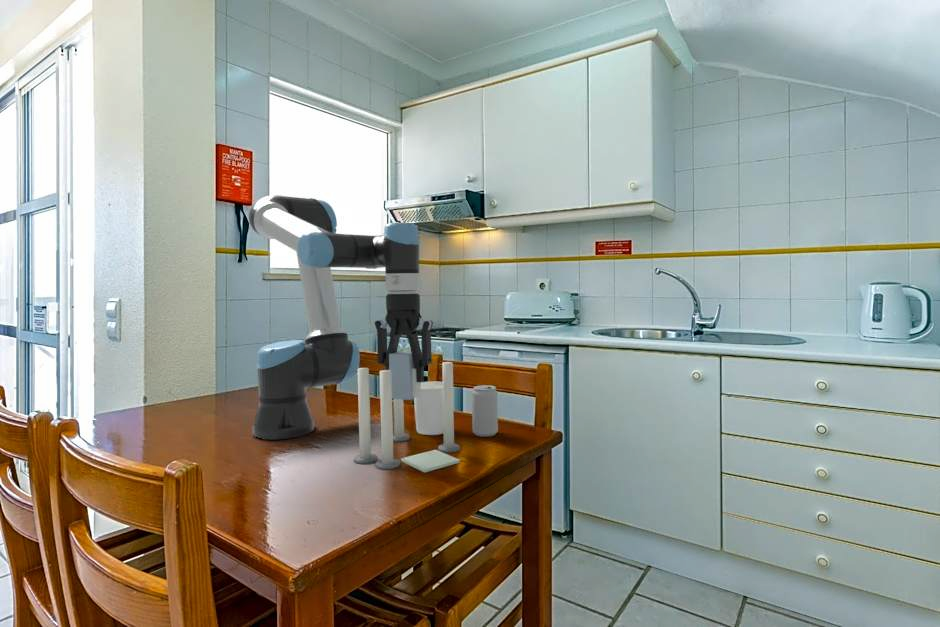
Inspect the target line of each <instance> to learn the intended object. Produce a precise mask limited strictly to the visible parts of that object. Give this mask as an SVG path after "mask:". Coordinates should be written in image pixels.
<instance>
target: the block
mask: <svg viewBox="0 0 940 627" xmlns="http://www.w3.org/2000/svg"><path fill="white" fill-rule="evenodd" d="M414 366H415V364H414V360H413V356H412V352H411V351H404V350H402V351H400V350H399V351H397V352H395V353H391V354H389V370H391V379H392V400H394V399H403V400H406V401H407V400H409V401H410V400H414V398H413V391H412V368H414Z"/></svg>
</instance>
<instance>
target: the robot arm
mask: <svg viewBox="0 0 940 627" xmlns="http://www.w3.org/2000/svg"><path fill="white" fill-rule="evenodd" d="M336 216H337V215H336V213H335V211H334V209H333V207H332V206H331V204H330V203H328V202H327V201H325V200H321V199H316V198H311V197H309V198H305V197H296V196H287V195H286V196H285V195H280V194H272V195H267V196H264V197H260V199H258V200H256V201H255V202H254V203H253V204H252V205H251V208H250V209H249V212H248V222H249V225H250V227H251V228H252V230H253V231H254V232H255V233H256V234H257V235H259V236H261V237H262V238H264V239H267V240H275V241H277V242H279V243H281V244H282V245H284V246H287V247H288V248H289V249H291V250H293V251H295V252H296V257H297V258H296V259H297V262H298V263H297V264H298V270H299V271H298V272H299V275H300V282H301V288H302V295H303V302H304V308H305V313H306V320H307V325H308V326H307V327H308V332H309V333H308V335H307V336H306V337H305V338H304V340H303V339H293V340H283V341H277V342H274V343H269V344H267V345H264V346H262V347H261V348H260V349H259V350H258V352H257V364H256V368H257V384H258V385H257V387H258V391H257V392H258V406H257V410H256V414H255V417H254V423H253V424H252V436H253V435H254V436H255V437H254V436H253V437H254V438H256V437H258V438H257V439H259V438H262V439H261V440H267V439H268V440H269V441H273V440H287V439H292V438H298V437H302V436H304V435H308V434H310V433H312V432H313V431H314V430H315V420H314V418H313V417H312V412H311V410H310V409H311V408H310V407H309V404H308V400H307V389H310V388H317V387H324V386H330V385H339V384H342V383H347V382H350V381H351V380H353V379H354V378H355V376H356V375H357V374H358V370H357V369H358V368H360V358H361V355H360V350H359V347H358V345H357V343H356V342H355V341H353V340H351V339H349V336H348V332H347V331H346V330H344V329H343V328H342V327H341V322H340V317H339V311H338V310H339V309H338V304H337V299H336V292H335V286H334V280H333V274H332V269H331V268H349V269H351V268H355V269H360V268H362V269H370V270H371V269H372V270H375V269H376V270H377V269H380V268H385V269H384V270H385V271H384V272H385V273H384V274H385V291H386V292H388V293H387V294H386V295H385V306H386V307H385V309H386V315H385V318H383V319H379V320H376V321H374V325H375V329H376V331H377V332H376V333H377V334H376V337H377V339H376V341H377V342H376V343H377V346H376V347H377V350H376V351H377V363H378V365H383V366H385V370H389V354H391V353H395V352H398V349H399V343H400V338H401V337H402V335H404V336H406V339H407V340H408V343H409V344H408V345H409V348H410V352H412V356H413V360H414V364H415V366H414V368H412V391H413V399H414V398H416V397H418V396H420V395H421V382H424V380H425V372H424V370H425V369H424V368H425V367H426V366H428V365H431V364H432V362H433V359H432V357H433V356H432V335H431V334H432V331H431V330H432V327H433V325H434V322H433V320H431V319H430V320H427V319H424V318H422V315H421V311H420V309H421V298H420V294H419V293H418V292H419V291H420V289H421V288H420V287H421V286H420V248H419V247H420V240H419V233H418V232H419V230H418V226H417V225H416V224H414V223H413V222H412V223H411V222H391V223H389V222H388V223H387V224H386V225H385V226H384V229H383V234H381V235H365V234H349V233H347V234H344V233H337V226H338V223H337V222H338V221H337V217H336ZM419 325H420V329H421V332H420V333H421V334H420V335H421V336H420V337H421V344H420V341H419V333H418V330H417V328H418V327H419ZM388 326H389V328H390V331H389V332H390V333H389V341H388Z"/></svg>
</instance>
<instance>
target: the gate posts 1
mask: <svg viewBox="0 0 940 627" xmlns="http://www.w3.org/2000/svg"><path fill="white" fill-rule="evenodd" d="M370 394H371V393H370V369H369V367H359V368H358V369H357V396H358V398H357V399H358V401H357V402H358V403H357V405H358V435H359V436H358V437H359V439H358V440H359V442H358V443H359V454H357V455H355V456H354V457H353V462H354V463H355V464H360V465H369V464H372V463H376V462H377V461H378V455H377V454H375V453H372V441H371V440H372V438H371V437H372V436H371V435H372V434H371V433H372V432H371V405H370V404H371V400H370V399H371V398H370ZM404 409H405V408H404V399H393V428H394V430H393V443H394V442H395V443H401V442H402V443H403V442H407V441H409V440H410V439H411V438H410V437H411V436H410V434H408V433H405V414H404V412H405V411H404Z"/></svg>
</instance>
